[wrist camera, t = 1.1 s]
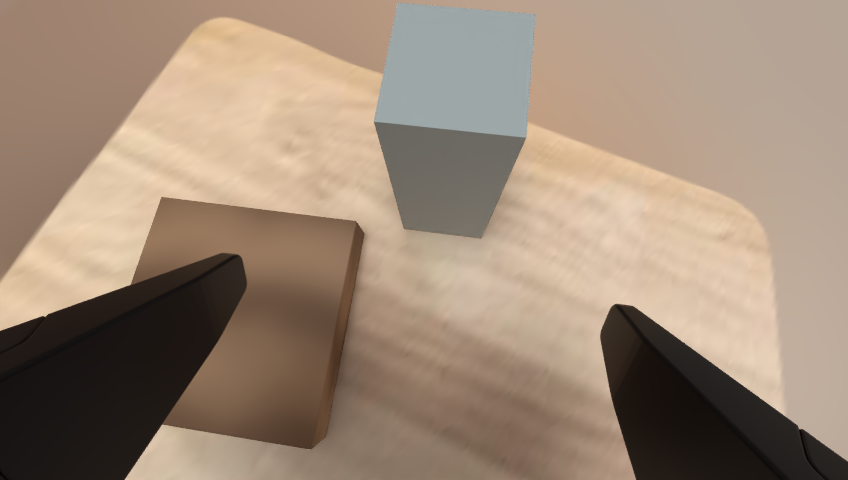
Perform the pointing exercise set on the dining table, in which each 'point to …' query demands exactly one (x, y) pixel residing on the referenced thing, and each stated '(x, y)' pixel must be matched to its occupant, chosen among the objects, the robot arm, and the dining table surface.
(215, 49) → the dining table surface
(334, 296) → the walnut board
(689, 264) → the dining table surface
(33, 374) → the robot arm
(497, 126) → the slate post
